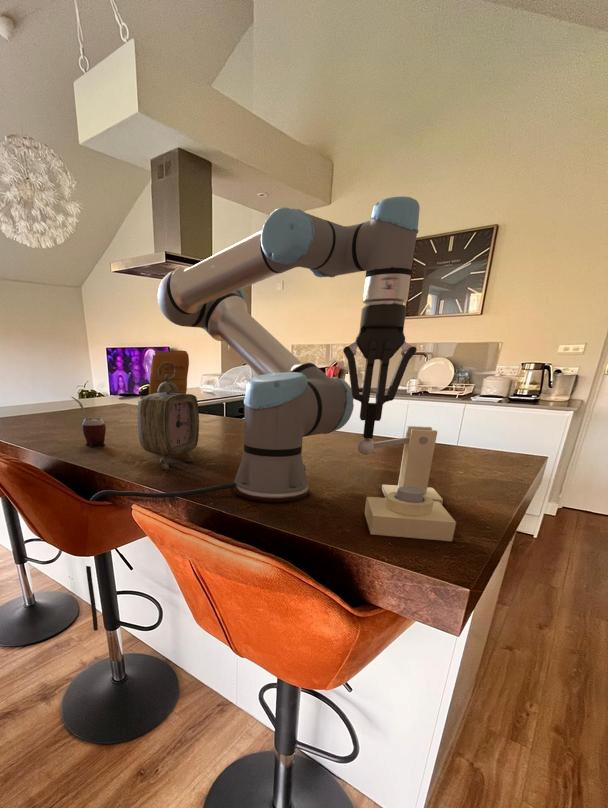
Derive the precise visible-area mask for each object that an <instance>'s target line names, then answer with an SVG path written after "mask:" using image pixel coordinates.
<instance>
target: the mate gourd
mask: <svg viewBox="0 0 608 808" xmlns="http://www.w3.org/2000/svg"><path fill="white" fill-rule="evenodd" d="M71 398H72V399H73V400H74V401H75V402H77V403H78V405H79V407H80V408H81V410H82V413H83V414H84V417H85V419H83V421H82V423H81V430H82V435H83V437H84V439H85V441H86V443H85V445H86V446H89V448H94V447H96V446H97V447H105V446H106V444H105V439H106V433H107V427H106V424H105V421H104V420H103V418H98V417H91V418H89V417H88V415H87V413H86V409H85V408H84V405H83V404H82V402H81V401H80V400H78V399H77V398H76V397H73V396H71Z"/></svg>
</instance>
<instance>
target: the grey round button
mask: <svg viewBox="0 0 608 808" xmlns="http://www.w3.org/2000/svg"><path fill="white" fill-rule="evenodd" d="M423 497H424V490H422V489H419V488H415V487H399V488H398V490H397V496H396V499H398V500H401V501H405V502H413V503H419V502H423Z"/></svg>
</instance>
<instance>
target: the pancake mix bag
mask: <svg viewBox="0 0 608 808" xmlns="http://www.w3.org/2000/svg"><path fill="white" fill-rule="evenodd" d="M164 362H170V363H172V364H173V365H174V366H175V368H176V376H175V378H174V379H172V380H170V382H171V383H174V384H175V385H176V386H177V387H178V390H179V391H178V392H170V393H177V394H187V390H188V374H189V368H190V358H189V353H188V352H187V350H181V349H180V350H179V349H178V350H177V349H176V350H175V349H173V350H155V351H154V354H152V360H151V367H150V375H149V384H148V395H150V394H155V393H166V392H158V391H157V390H158V387H159V385H160V384H161V383H164V382H166V381H163V380H162V379H160V377H159V375H158V368H159V366H160V365H161V364H162V363H164ZM167 374H168V375H169V376H170V377H172V376H173V375H174V369H173V367H172V366H170V365H165V366H163V367H162V368H161V369H160V375H161V376H162V377H164V378H165V375H167Z"/></svg>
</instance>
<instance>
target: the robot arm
mask: <svg viewBox="0 0 608 808" xmlns="http://www.w3.org/2000/svg"><path fill="white" fill-rule="evenodd" d="M420 209H421V208H420V203H419V201H418V200H417V199H415V198H413V197H410V196H392V197H388V198H383V199H381V200H380V201H378V202H376V203H375V205H373V208H372V212H371V216H370V219H369V220H368V221H367V220H366V221H364V222H361V223H357V224H352V225H342V224H339V223H337V222H333V221H330V220H327V219H323V218H321V217H318V216H315V215H314V214H313V215H312V214H310V213H308V212H305V211H303V210H302V209H300V208H290V207H283V206H282V207H278V208H276V209H275V210H272V212H271V213H270V214H269V217H268V218H267V219H266V220H265V221H264V223H263V226H262V228H261V230H260V231H258V232H255V233H254V234H252V235H250V236H247V238H245V239H242V240H241V241H239V242H237V243H234V244H233V245H231V246H229V247H226V248H225V249H223V250H221V251H219V252H217V253H214V255H213V254H212V256H210V257H208V258H206V259H204V260H202V261H200V262H198V263H195V264H193V265H192V266H187V265H182V266H179V267H177V268H175V269H173V270H172V271H170V272H168V273H167V274H165V276H164V277H163V278H162V280H161V281H160V283H159V286H158V289H157V303H158V307H159V309H160V311H161V313H162V314H163V316H164V317H165V318H166V319H167V320H168V321H169V322H171V323H172V324H174V325H176V326H179V327H186V328H200V329H203V330H204V331H205V332H206V333H207V334H208V335H209V336H210V337H211V338H212V339H213V340H215V341H217V342H225V344H226V345H228V347H230V348H231V349H232V351H234V353H236V355H237V356H239V358H241V359H242V361H243V362H244V363H246V365H247V366H248V367H250V369H251V370H252V371H253V372H254V373H255V374H256V375H257V376H253V377H252V378H250V379H249V380H248V381H247V383H246V385H245V396H244V398H243V404H244V412H243V413H244V415H243V416H244V417H243V419H244V421H243V422H244V423H243V455H242V458H241V461H240V462H239V463H240V464H239V467H238V469H237V472H236V475H235V478H234V480H233V482H228V483H224V484H223V483H222V484H218V485H213V486H208V487H203V488H198V489H191V490H184V491H175V492H174V491H173V492H146V491H133V490H132V491H131V490H124V491H123V490H111V489H107V490H106V489H105V490H101V491H98V492H97V493H95V494H94V495H92V497H91V498H90V500H89V502H96V501H98V500H99V498H101V497H105V496H116V497H138V498H139V497H140V498H152V499H165V498H166V499H167V498H180V497H188V496H195V495H201V494H205V493H206V494H207V493H211V492H215V491H221V490H227V489H232V488H233V492H234V494H236V495H237V496H238V497H241V498H244V499H246V500H250V501H255V502H262V503H289V502H295V501H299V500H301V499H304V498H305V497H307V495H308V492H309V482H308V481H309V480H308V477H307V474H306V465H305V464H304V461H303V457H302V454H303V453H302V452H303V441H304V439H303V438H305V437H310V436H316V435H326V434H331V433H333V432H335V431H338V430H340V429H341V428H343V427H344V426H346V425H347V423H348V422H349V420H350V419H351V417H352V415H353V411H354V406H355V404H354V400H355V401H358V402H359V403H360V412H359V420H360V421H364V426H363V434H362V437H363V439H371V440H373V438H374V432H375V424H376V423H375V422H380V421H381V420H382V415H383V408H384V404H385V403H388V402H390V401H394V400H395V398H396V395H397V392H398V390H399V387H400V384H401V383H402V380H403V377H404V374H405V371H406V370H407V367H408V364H409V361H410V360H411V359H412V357H414V355H415V354H416V353H417V350H418V349H417V347H416V346H412V345H411V344H409V343H408V342H407V341H406V336H405V333H404V330H405V329H404V328H405V323H406V322H405V321H406V316H407V307H406V305H405V303H406V302H408V300H409V293H410V285H411V278H412V277H411V276H412V271H413V270H412V269H413V262H414V255H415V249H416V242H417V237H418V233H419V230H420V229H419V221H420ZM295 268H303V269H309V270H310V271H311V272H312V274H313V275H314V276H315V277H317V278H335V277H339V276H342V275H349V274H354V273H360V272H365V278H364V287H363V297H362V304H365V305H364V306H363V307H362V308H361V315H360V323H359V332H358V334H357V335H356V338H355V341H354V342H353V343H350V344H349V345H348V346H344V347H343V349H342V352H343V354H344V357H345V358H346V360H347V367H348V374H349V381H350V382H349V383H350V384H349V383H348V382H347V381H346V380H345V379H342V378H339V377H336V376H331V377H330V376H329V375H327V374H326V373H325V372H323V371H322V370H321V368H319V367H318V366H317V365H316V364H315V363H313V362H310V361H307V362H302V361H301V360H300V359H299V358H298V357H297V356H295V355H294V354H293V352H291V351H290V350H289V349H288V348H287V347H285V346H284V345H283V344H282V343H281V341H279V340H278V339H277V338H276V337H275V336H274V335H273V334H271V332H270V331H268V330H267V329H266V328H265V327H264V326H263V325H262V324H261V323H260V322H259V321H258V320H256V319H255V318H254V317H253V315H251V314H250V313H248V305H247V301H246V300H245V297H246V295H245V293H244V291H243V289H245V288H247V287H249V286H253V285H255V284H257V283H259V282H263V281H264V280H266V279H269V278H272V277H274V276H276V275H277V276H278V275H280V274H283V273H285V272H288V271H290V270H293V269H295ZM357 348H358V349H359V352H360V353H361V355H362V356H363V358H364V359H365V365H364V366H365V367H364V374H363V383H362V390H361V391H362V392H361V393H360V386H359V380H358V379H359V378H358V371H357V363H356V358H355V356H356V355H357V353H358V352H357ZM399 350H400V353H399V355H400V356H401V357H400V358H399V361H398V363H397V366H396V368H395V371H394V373H393V376H392V379H391V381H390V384H389V386H388V389H387V392H386V387H387V379H388V372H389V365H390V360H391V359H392V358H393V357H394V355H396V353H397V352H398V351H399ZM376 360H379V368H378V377H377V383H376V384H377V385H376V391H375V392H376V393H375V394H376V395H375V402H370V398H371V397H370V396H371V389H372V383H373V382H372V381H373V375H374V365H375V361H376ZM85 572H86V580H87V587H88V594H89V601H90V608H91V616H92V617H91V618H92V628H93V631H95V632H96V631H98V630H99V626H98V625H99V624H98V615H97V614H98V613H97V606H96V598H95V591H94V584H93V575H92V565H91V566H90V565H85Z"/></svg>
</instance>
